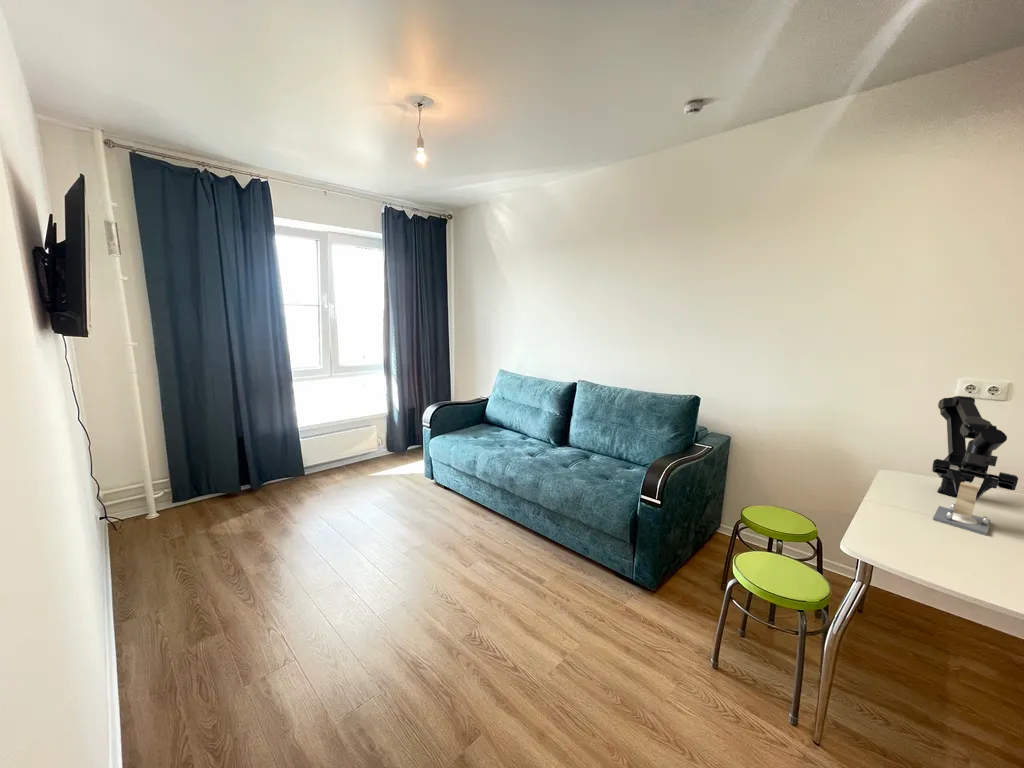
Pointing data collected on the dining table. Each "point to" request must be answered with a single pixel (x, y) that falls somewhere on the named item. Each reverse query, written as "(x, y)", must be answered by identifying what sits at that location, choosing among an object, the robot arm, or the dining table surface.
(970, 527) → the plate
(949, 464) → the robot arm
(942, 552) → the dining table surface
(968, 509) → the maple block
